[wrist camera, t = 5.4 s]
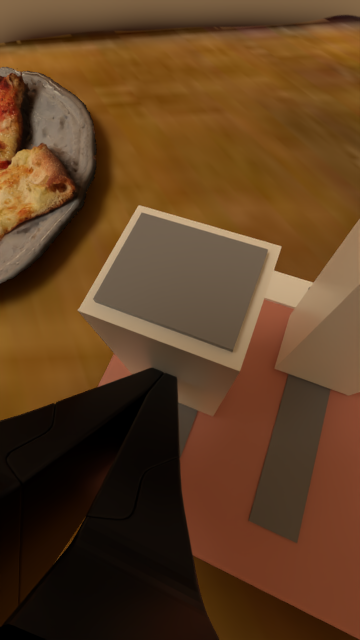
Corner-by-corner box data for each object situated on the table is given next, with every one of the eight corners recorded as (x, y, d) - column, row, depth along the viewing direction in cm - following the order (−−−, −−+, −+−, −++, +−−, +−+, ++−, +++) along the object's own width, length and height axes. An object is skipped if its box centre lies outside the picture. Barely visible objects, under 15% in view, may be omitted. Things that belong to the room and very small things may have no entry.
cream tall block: (213, 416, 14) (240, 369, 6) (144, 388, 15) (75, 307, 6) (233, 357, 15) (283, 241, 7) (168, 333, 16) (137, 200, 7)
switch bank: (496, 695, 11) (549, 738, 10) (63, 479, 15) (46, 483, 13) (501, 357, 16) (536, 347, 15) (172, 254, 20) (170, 236, 18)
